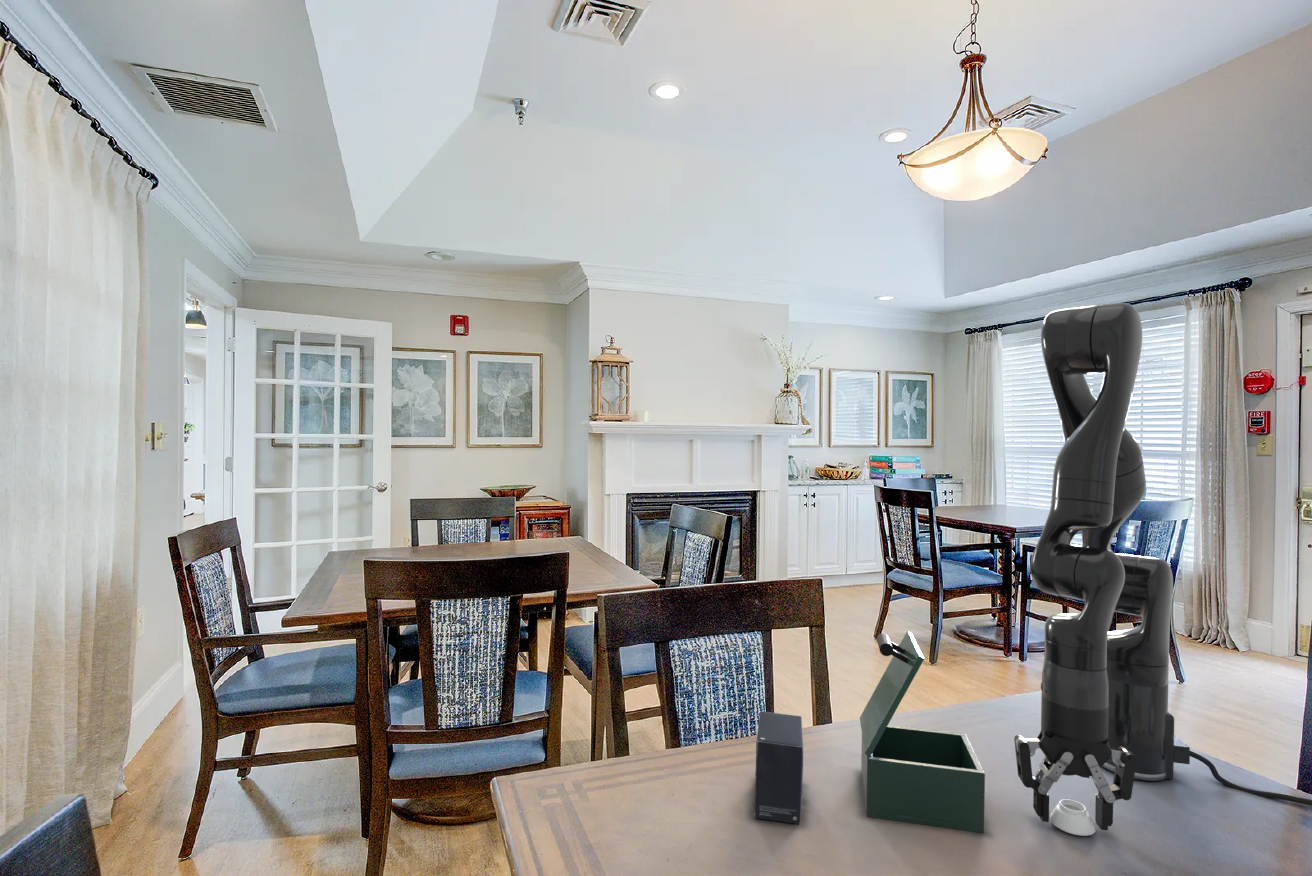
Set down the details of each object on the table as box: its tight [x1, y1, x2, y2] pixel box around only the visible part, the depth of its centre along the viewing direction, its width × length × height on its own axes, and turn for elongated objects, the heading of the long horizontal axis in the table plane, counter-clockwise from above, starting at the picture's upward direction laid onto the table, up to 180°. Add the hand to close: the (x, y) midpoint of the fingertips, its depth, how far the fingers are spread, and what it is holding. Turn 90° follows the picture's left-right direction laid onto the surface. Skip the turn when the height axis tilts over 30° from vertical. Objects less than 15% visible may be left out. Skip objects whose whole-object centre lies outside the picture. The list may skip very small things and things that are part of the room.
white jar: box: [1049, 798, 1096, 837], centre depth 88 cm, size 5×3×5 cm
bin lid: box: [859, 630, 925, 757], centre depth 96 cm, size 15×12×5 cm
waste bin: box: [860, 724, 986, 834], centre depth 94 cm, size 15×12×8 cm
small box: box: [753, 710, 804, 825], centre depth 94 cm, size 11×6×10 cm, turn 168°
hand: (1072, 822), depth 88 cm, fingers open, 6 cm apart
